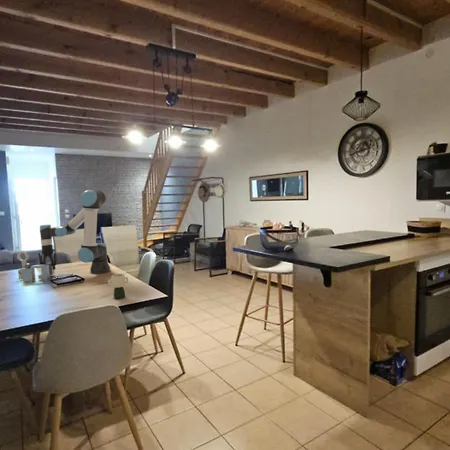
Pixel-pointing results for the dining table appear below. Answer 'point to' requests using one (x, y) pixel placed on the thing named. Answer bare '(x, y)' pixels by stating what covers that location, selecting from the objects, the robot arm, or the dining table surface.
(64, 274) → the felt mat
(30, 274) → the housing
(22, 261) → the engine component
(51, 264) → the plug
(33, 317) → the dining table surface
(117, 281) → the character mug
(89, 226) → the robot arm
